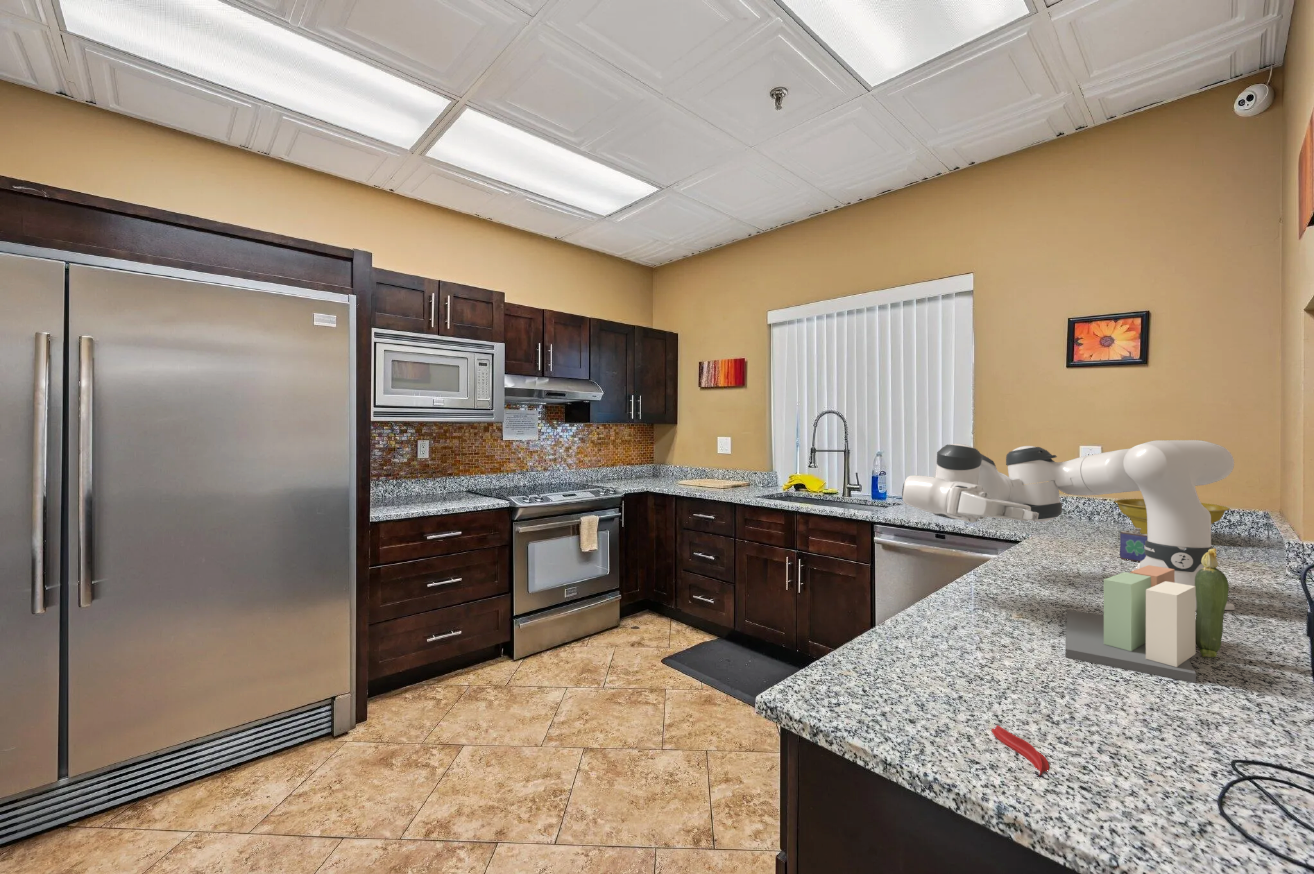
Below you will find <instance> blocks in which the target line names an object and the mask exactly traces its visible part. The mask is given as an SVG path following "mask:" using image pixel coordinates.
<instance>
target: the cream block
mask: <svg viewBox="0 0 1314 874" xmlns="http://www.w3.org/2000/svg"><path fill="white" fill-rule="evenodd" d="M1195 621H1196V610H1195V586H1191V585H1185V584H1179V583H1173V582H1167V581H1165V582H1162V583H1160V584H1158V585H1155V586H1153V587H1151V588H1149V589H1146V659H1149V660H1152V661H1156V662H1160V663H1164V664H1167V665H1171V666H1175V667H1177V666H1179V665H1180V664H1182V663H1183V662H1185V661H1186V660H1187V659H1189V660H1190V658H1192V657H1193V656H1195V655H1196V642H1195Z"/></svg>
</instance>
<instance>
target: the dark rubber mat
mask: <svg viewBox="0 0 1314 874" xmlns="http://www.w3.org/2000/svg"><path fill="white" fill-rule="evenodd" d="M1065 629H1066V630H1065V632H1066V633H1065V647H1064V648H1065V658H1067V657H1068V659H1073V660H1077V659H1078V660H1079V661H1082V662H1088V663H1093V664H1098V665H1103V666H1109V667H1113V668H1118V669H1123V670H1128V671H1133V672H1139V673H1143V672H1144V674H1149V675H1153V674H1155V675H1154V676H1158V675H1161V676H1160V677H1162V678H1163V677H1164V678H1169V679H1174V680H1179V681H1184V682H1189V683H1194V684H1197V683H1196V682H1197V673H1196V671H1195V670H1194V667H1193V665H1192V663H1191V661H1190V658H1189V659H1187V660H1186V661H1185V662H1183V663H1182V664H1180V665H1179V666H1177V667H1175V666H1171V665H1167V664H1164V663H1160V662H1156V661H1152V660H1149V659H1146V643H1145V644H1143V645H1141V646H1139V647H1138V648H1136V649H1134V650H1132V651H1128V650H1124V649H1121V648H1117V647H1113V646H1109V645H1105V644H1104V614H1099V613H1094V612H1085V611H1079V610H1074V609H1066V627H1065Z"/></svg>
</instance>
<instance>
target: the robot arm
mask: <svg viewBox="0 0 1314 874" xmlns="http://www.w3.org/2000/svg"><path fill="white" fill-rule="evenodd" d="M1055 458H1058V456H1057V455H1056V454H1052V453H1051V452H1049V450H1047V449H1045V448H1043V447H1040V446H1034V445H1024V446H1023V445H1022V446H1018V447H1016V448H1014V449H1012V450H1011V451H1009V452H1008V453H1007V454H1006V457H1005V465H1006V466H1007V473H1008V474H1007V475H1006V474H1005V473H1003V472H1000V471H998V469H997V466H996V463H995V461H994V460H993V459H991V458H989V457H987V456H986V455H984V454H983V453H981V452H980V451H979V450H978V448H974V447H973V446H971V445H967V444H962V443H949V444H946V445H944V446H943V447H941V448H940V449H939V450H938V451H937V452H936V467H935V469H936V470H935V476H929V475H919V474H918V475H915V474H914V475H908V476H907V477H906V478H905V480H904V482H903V484H902V488H901V489H902V492H901V497H902V500H903V503H904V504H906V505H908V506H910V507H912V508H914V509H916V510H917V509H918V510H920V511H924V512H927V513H931V514H934V516H937V517H941V518H945V519H950V520H959V521H963V522H968V523H976V522H978V520H984V518H994V519H1002V520H1003V519H1004V520H1012V521H1013V520H1014V521H1022V522H1023V521H1024V522H1027V521H1033V522H1039V523H1043V522H1049V521H1052V520H1054V519H1055V518H1058V517H1059V516H1061V514H1062V512H1063V503H1062V502H1061V497H1060V496H1061V495H1060V492H1061V493H1064V494H1066V495H1073V496H1100V495H1108V494H1109V495H1110V494H1121V493H1131V492H1140V493H1141V496H1142V499H1144V502H1145V505H1146V511H1147V540H1146V541H1145V545H1144V549H1145V555H1146V557H1145V559H1144V560H1142V561H1140V562H1137V565H1136V566H1134V567H1133V571H1134V570H1137V569H1139V568H1142V567H1145V566H1148V565H1150V566H1157V567H1163V568H1170V569H1175V583H1179V584H1185V585H1191V586H1195V576H1196V573H1197V572H1198V571H1199V570H1200V569H1202V568H1204V566H1203V565H1202V563H1201V560H1202V557H1203V556H1204V555H1205V553H1207V552H1208V550H1209V549H1214V547H1213V546H1212V524H1211V515H1210V512H1209V511H1208V510H1207V509H1206V508H1205V507H1204V506H1203V505H1202V504H1201V503H1202V502H1201V500H1200V498H1199V496H1198V493H1197V489H1196V486H1197V487H1198V486H1206V485H1210V484H1214V483H1217V482H1220V481H1222V480H1224V479H1226V478H1227V477H1229V476H1230V474H1231V473H1232V472H1233V470H1234V467H1235V460H1234V456H1233V454H1232V453H1231V452H1230V451H1229V449H1228V448H1226V447H1224V446H1222V445H1219V444H1217V443H1213V442H1210V441H1205V440H1200V439H1199V440H1198V439H1185V440H1184V439H1182V440H1181V439H1172V440H1171V439H1169V440H1167V439H1164V440H1161V439H1160V440H1159V439H1157V440H1151V441H1146V442H1144V443H1140V444H1137V445H1134V446H1133V447H1131V448H1124V449H1117V450H1112V451H1105V452H1099V453H1094V454H1089V455H1083V456H1080V457H1076V458H1072V459H1070V460H1066V461H1058V462H1056V461H1055V460H1054V459H1055ZM1216 569H1218V567H1216ZM1235 610H1236V607H1235V605H1234V604H1233V603H1231V602H1229V601H1228V600H1227V603H1226V606H1225V610H1224V611H1235ZM1195 611H1196V594H1195Z"/></svg>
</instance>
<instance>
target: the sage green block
mask: <svg viewBox="0 0 1314 874" xmlns="http://www.w3.org/2000/svg"><path fill="white" fill-rule="evenodd" d="M1149 588H1151V576H1145V575H1139V574H1133V573H1130V572H1127V571H1126V572H1125V571H1123V572H1121V573H1118V574H1115V575H1112V576H1110V577H1107V578H1104V579H1103V615H1104V644H1105V645H1109V646H1113V647H1117V648H1121V649H1124V650H1128V651H1132V650H1134V649H1136V648H1138V647H1139V646H1141V645H1143V644H1145V643H1146V589H1149Z"/></svg>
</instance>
